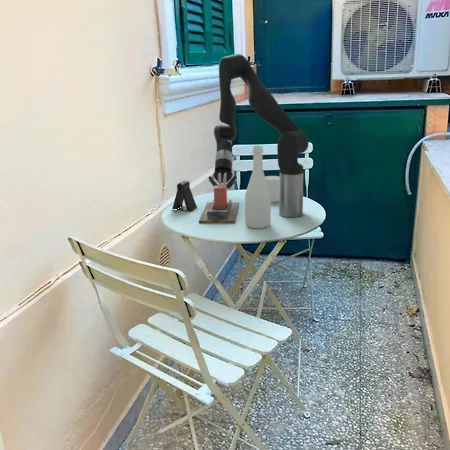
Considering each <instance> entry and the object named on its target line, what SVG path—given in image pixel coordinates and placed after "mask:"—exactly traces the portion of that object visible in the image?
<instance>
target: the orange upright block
mask: <svg viewBox="0 0 450 450" xmlns="http://www.w3.org/2000/svg"><path fill="white" fill-rule="evenodd" d="M213 201H214V209H227V202H228V189H227V185H223V184H222V185H219V184H217V185H215V187H214V186H213Z"/></svg>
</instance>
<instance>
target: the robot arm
mask: <svg viewBox="0 0 450 450" xmlns="http://www.w3.org/2000/svg"><path fill="white" fill-rule="evenodd" d="M218 77H219V79H218V80H219V92H220V104H219V105H220V107H219V115H218V116H219V121H220V122H221V123H223V124H220V123H219V124H216V125H215V126H214V129H213V135H214V138H215V142H216V154H215V162H214V171H213V174H212V175H210V176H208V178H207V179H208V181H209V183H211V185H212V186H213V188H214V187H215V185H227V190H229V189H231V187H233V185H235V183H236V182H237V181H238V178H237V176H236V175H233V172H232V171H233V170H232V169H233V144H232V141H234V140H235V139H236V138H237V135H238V134H237V133H238V132H237V127H236V113H237V102H236V99H235V97H234V95H233V93H232V89H231V84H232V80H234V79H235V80H236V79H241V80H242V81H243V82H244V84H245V85H246V88H247V93H248V94H247V95H248V96H247V97H248V103H249V105H250V107H251V109H252V110H253V112H254V113H255V114H256V115H257V116H258V117H259V119H261V120H262V121H264V122H265V123H267V124H268V125H270V126H271V127H273V128H274V129H275V130H277V131H278V133H280V135H279V137H278V139H277V147H276V148H277V152H276V153H277V165H278V168H279V177H280V192H279V201H278V202H279V203H278V205H279V206H278V210H279V211H278V215H280V216H281V217H285V218H297V217H303V210H304V207H303V206H304V165H303V164H301V163H299V161H298V160H299V159H298V155H301V154H303V153H305V152H306V151H307V150H308V148H309V139H308V137H307V134H306V133H305V132H304V131H303V130H302V129H301V128H300V127H299V126H298V125H297V124H296V123H295V122H294V121H293V120H292V119H291V118H290V116H289V115H288V114H287V113H286V111H285V110H284V109H283V108H282V107H281V105H280V104H279V103H278V102H277V100H276V99H275V97H274V96H273V95H272V93H271V92H270V91H269V90H268V89H267V88H266V86H265V84H264V83H263V82H262V81H261V79H260V78H259V76H258V75H257V73H256V72H255V70H254V69H253V67H252V66H251V64H250V62H249V61H248V60H247V58H246V57H245V56H244V55H243V54H241V53H235V54H231V55H227V56H223V57H222V58H221V59H220V60H219V63H218ZM216 181H217V182H216Z"/></svg>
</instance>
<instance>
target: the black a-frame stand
mask: <svg viewBox="0 0 450 450" xmlns="http://www.w3.org/2000/svg"><path fill="white" fill-rule="evenodd" d="M194 198H195V197H194V195H193V192H192V190H191V186H190V181H189V180H183V181H181V182H179V183H177V185H176V194H175V198H174V202H173V205H172V209H177V210H182V211H181V212H186V211H189V212H188V213H191V212H193V211H194V210H196V209H197V208H198V205H197V204H196V201H195V199H194ZM183 203H184V204H185V205H183ZM180 207H181V208H180ZM178 208H179V209H178ZM177 210H176V211H177Z"/></svg>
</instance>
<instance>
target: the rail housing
mask: <svg viewBox="0 0 450 450" xmlns="http://www.w3.org/2000/svg"><path fill="white" fill-rule="evenodd" d="M239 203H240V202H238V201H235V202H233V200H232V199H228V201H227V209H214V200H212V201H211V202H209V201H208V202H206V203H205V206H204V208H203V211H202V213H201V215H200V216H199V219H198V224H235V223H236V219H237V215H238V210H239V205H240V204H239Z"/></svg>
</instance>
